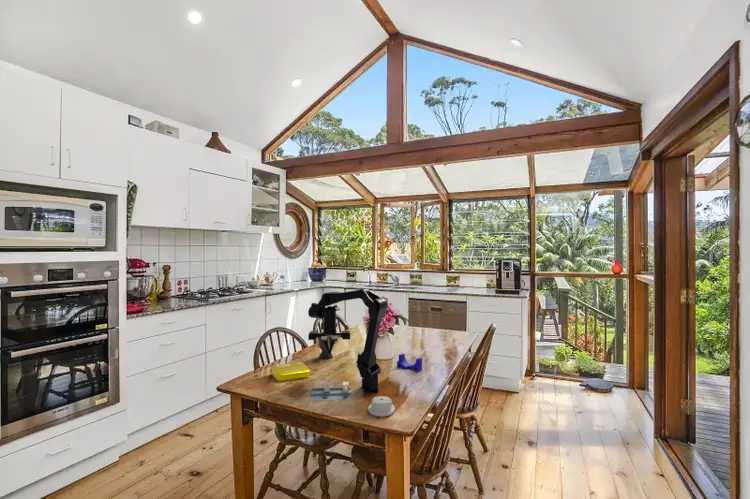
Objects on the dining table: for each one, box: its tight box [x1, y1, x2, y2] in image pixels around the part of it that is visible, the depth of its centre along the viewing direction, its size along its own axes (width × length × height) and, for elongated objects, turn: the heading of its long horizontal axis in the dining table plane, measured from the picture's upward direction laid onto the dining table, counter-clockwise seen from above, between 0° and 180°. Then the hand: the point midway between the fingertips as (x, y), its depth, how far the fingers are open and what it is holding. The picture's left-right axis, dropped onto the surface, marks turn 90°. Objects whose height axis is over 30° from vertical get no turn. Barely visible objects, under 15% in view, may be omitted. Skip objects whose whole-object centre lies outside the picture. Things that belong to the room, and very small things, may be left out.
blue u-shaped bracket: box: [396, 353, 423, 372], centre depth 189 cm, size 12×4×6 cm, turn 52°
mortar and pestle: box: [317, 322, 339, 360], centre depth 206 cm, size 12×9×20 cm
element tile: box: [271, 361, 311, 382], centre depth 177 cm, size 15×15×5 cm
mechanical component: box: [367, 395, 396, 418], centre depth 141 cm, size 10×4×10 cm
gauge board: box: [309, 381, 352, 401], centre depth 154 cm, size 16×12×4 cm
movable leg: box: [323, 381, 332, 393], centre depth 154 cm, size 2×8×4 cm, turn 4°
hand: (329, 354), depth 172 cm, fingers closed
